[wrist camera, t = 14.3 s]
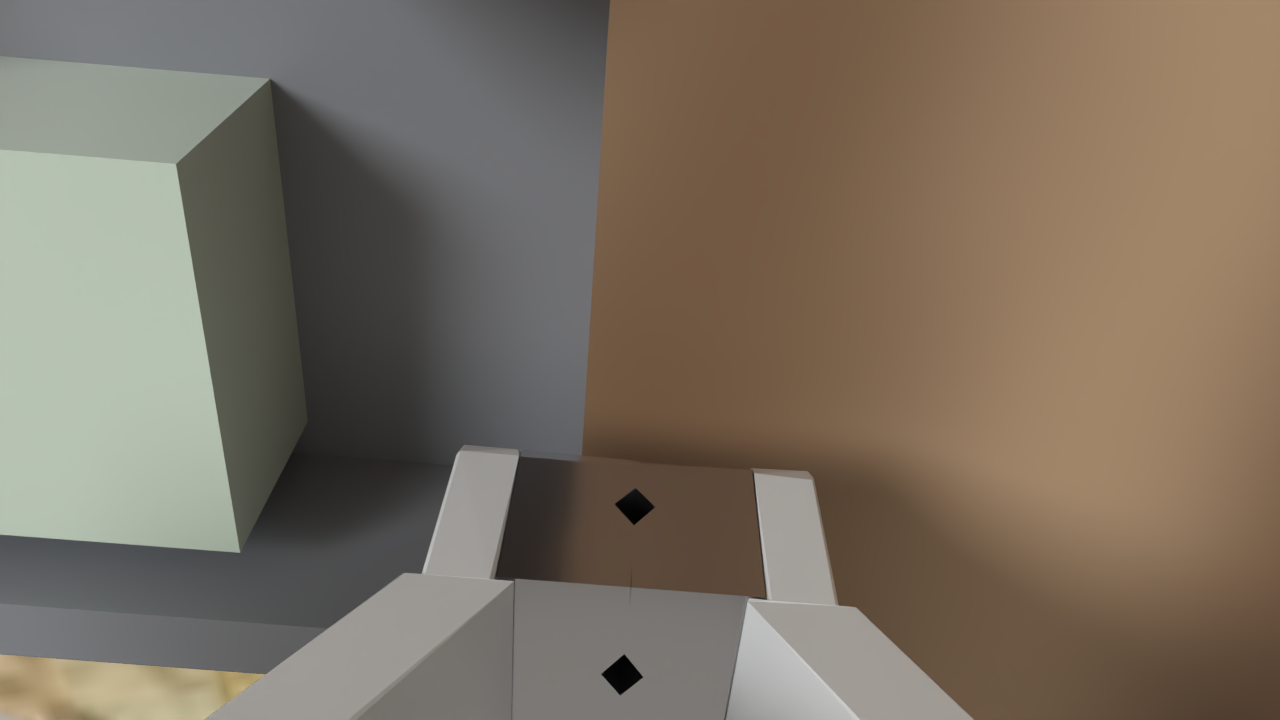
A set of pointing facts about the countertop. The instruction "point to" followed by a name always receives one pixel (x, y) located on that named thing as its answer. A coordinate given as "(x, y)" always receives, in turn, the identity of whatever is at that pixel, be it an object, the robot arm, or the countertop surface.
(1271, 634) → the board
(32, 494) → the tile sage
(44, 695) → the countertop surface
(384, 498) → the tray
